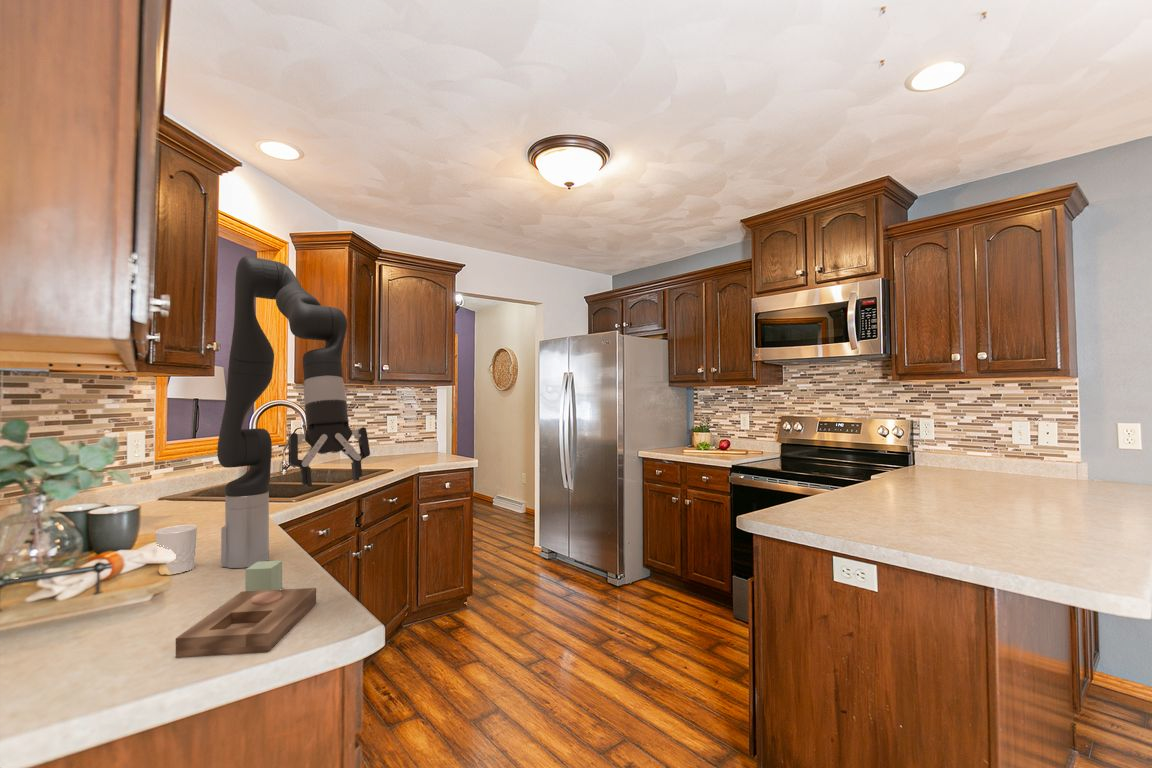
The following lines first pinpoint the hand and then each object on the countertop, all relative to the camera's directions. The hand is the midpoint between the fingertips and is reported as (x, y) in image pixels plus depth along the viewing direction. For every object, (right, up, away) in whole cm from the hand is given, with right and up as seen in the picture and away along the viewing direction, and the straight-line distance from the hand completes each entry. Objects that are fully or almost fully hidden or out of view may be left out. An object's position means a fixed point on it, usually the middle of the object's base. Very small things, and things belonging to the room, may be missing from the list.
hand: (333, 484), depth 102 cm
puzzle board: (-11, -24, -7) cm, 28 cm away
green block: (-19, -25, +9) cm, 32 cm away
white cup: (-48, -25, +24) cm, 60 cm away
